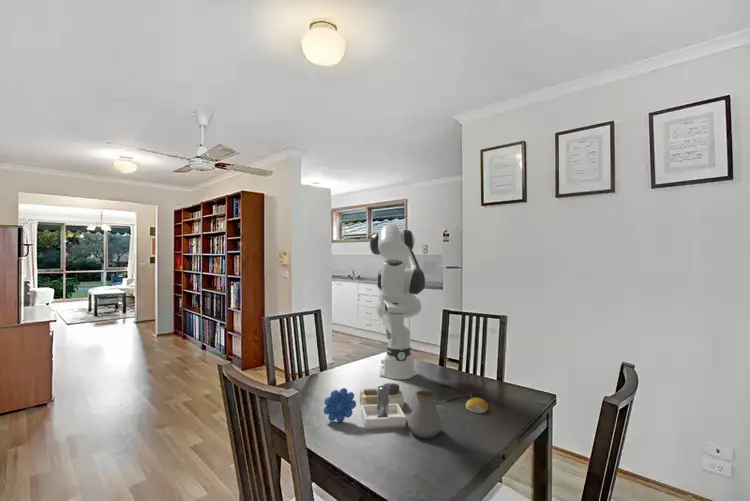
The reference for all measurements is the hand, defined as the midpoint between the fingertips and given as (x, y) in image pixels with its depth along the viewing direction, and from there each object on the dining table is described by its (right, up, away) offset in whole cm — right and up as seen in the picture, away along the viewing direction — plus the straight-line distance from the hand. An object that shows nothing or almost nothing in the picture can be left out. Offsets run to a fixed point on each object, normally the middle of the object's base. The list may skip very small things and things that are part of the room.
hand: (391, 341), depth 136 cm
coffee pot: (+16, -28, -13) cm, 34 cm away
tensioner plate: (-3, -28, +11) cm, 30 cm away
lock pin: (-3, -27, -3) cm, 27 cm away
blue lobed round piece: (-18, -27, -4) cm, 33 cm away
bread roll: (+34, -29, +8) cm, 45 cm away
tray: (-3, -27, -3) cm, 28 cm away
